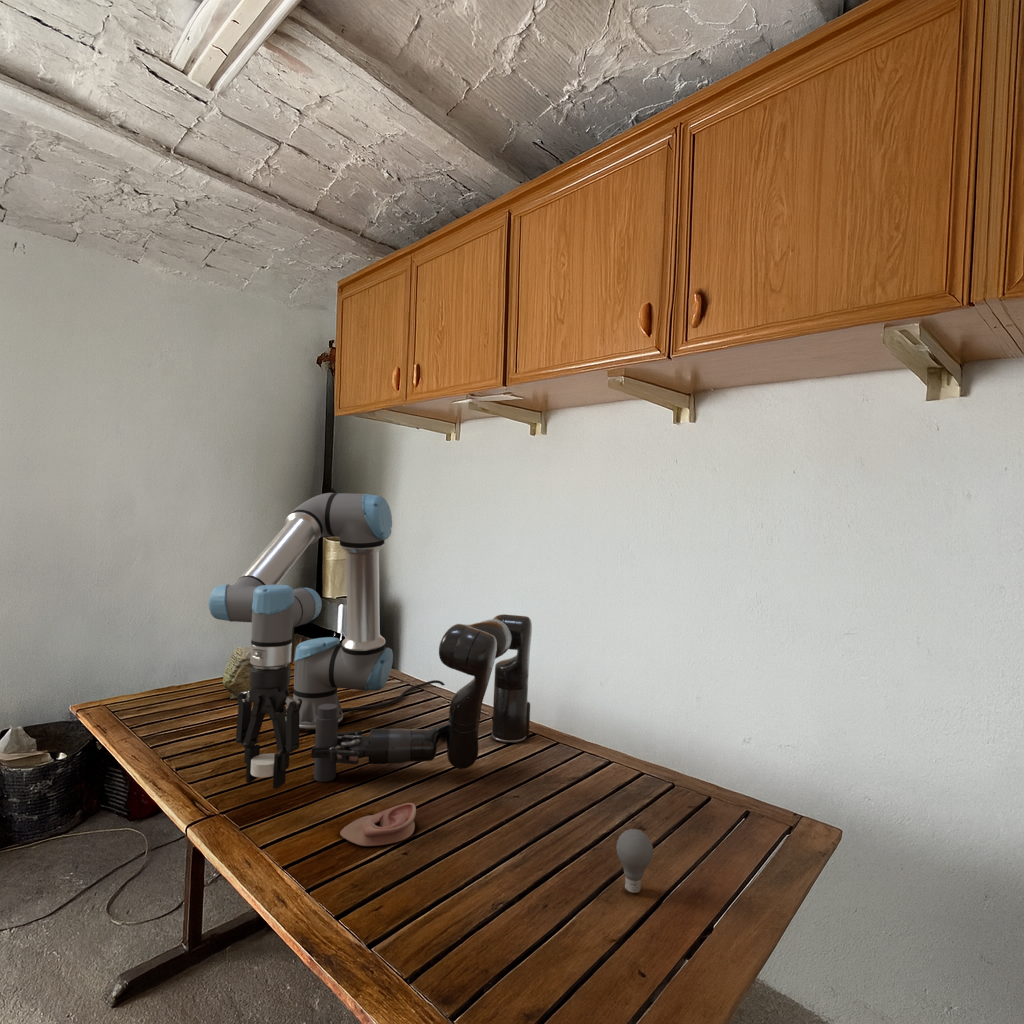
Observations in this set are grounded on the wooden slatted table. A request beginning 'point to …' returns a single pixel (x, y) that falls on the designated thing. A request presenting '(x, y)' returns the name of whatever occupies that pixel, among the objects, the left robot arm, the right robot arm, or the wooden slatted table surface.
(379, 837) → the anatomical model
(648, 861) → the light bulb
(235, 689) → the fossil
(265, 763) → the lid
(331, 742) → the gray bottle
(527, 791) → the wooden slatted table surface
